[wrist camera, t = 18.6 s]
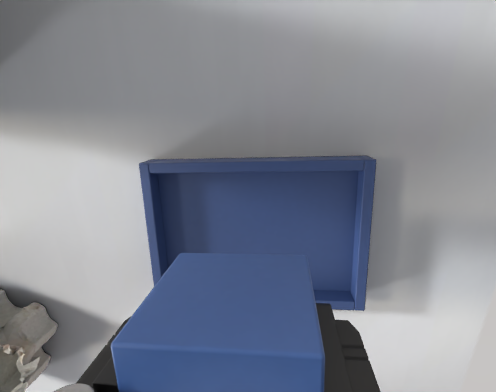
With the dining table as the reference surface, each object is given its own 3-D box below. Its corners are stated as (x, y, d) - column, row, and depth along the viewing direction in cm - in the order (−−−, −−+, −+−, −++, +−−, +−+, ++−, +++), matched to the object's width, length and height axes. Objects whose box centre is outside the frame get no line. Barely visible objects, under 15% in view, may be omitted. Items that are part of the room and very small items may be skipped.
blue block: (190, 356, 12) (136, 495, 7) (179, 251, 11) (107, 344, 6) (305, 362, 11) (320, 518, 7) (307, 253, 10) (326, 356, 6)
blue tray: (165, 288, 21) (155, 302, 19) (150, 159, 19) (138, 163, 17) (357, 294, 19) (364, 310, 18) (367, 155, 17) (376, 159, 16)
